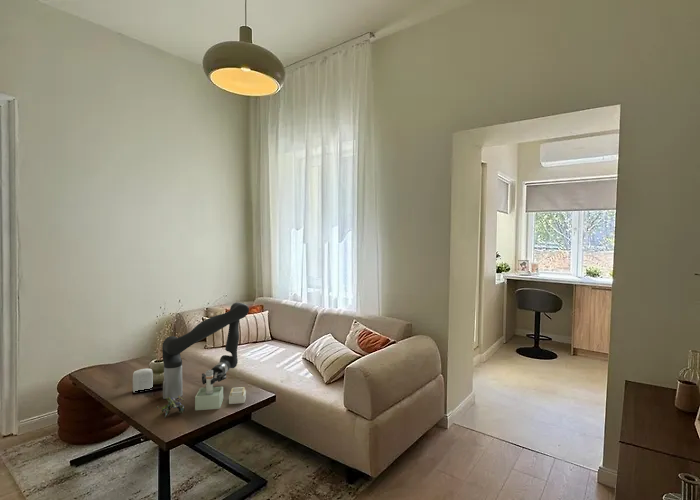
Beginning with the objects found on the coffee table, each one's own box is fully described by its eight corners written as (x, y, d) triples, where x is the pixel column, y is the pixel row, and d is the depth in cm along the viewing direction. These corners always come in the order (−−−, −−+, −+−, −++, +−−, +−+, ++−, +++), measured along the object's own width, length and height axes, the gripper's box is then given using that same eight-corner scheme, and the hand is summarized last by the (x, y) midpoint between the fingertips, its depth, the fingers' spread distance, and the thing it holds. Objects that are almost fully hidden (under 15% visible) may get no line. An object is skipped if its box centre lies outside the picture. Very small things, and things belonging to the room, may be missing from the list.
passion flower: (180, 423, 193) (191, 406, 190) (159, 428, 184) (170, 410, 181) (172, 405, 199) (182, 389, 196) (151, 409, 190) (162, 392, 188)
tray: (195, 410, 196) (195, 396, 196) (200, 400, 208) (200, 387, 207) (219, 408, 198) (219, 395, 198) (223, 399, 210) (223, 386, 209)
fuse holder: (228, 404, 203) (228, 393, 203) (231, 397, 211) (231, 387, 211) (244, 403, 205) (244, 392, 204) (246, 396, 213) (245, 386, 212)
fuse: (205, 395, 200) (204, 372, 200) (206, 392, 204) (206, 370, 204) (212, 394, 201) (212, 372, 201) (214, 391, 205) (213, 369, 204)
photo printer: (152, 387, 226) (152, 366, 226) (153, 389, 222) (153, 368, 222) (132, 390, 220) (132, 369, 220) (133, 393, 217) (132, 371, 216)
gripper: (206, 364, 217) (193, 375, 199) (231, 364, 216) (220, 375, 199) (206, 377, 217) (194, 389, 200) (231, 377, 217) (220, 389, 199)
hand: (207, 382), depth 200 cm, fingers closed on fuse, 3 cm apart
